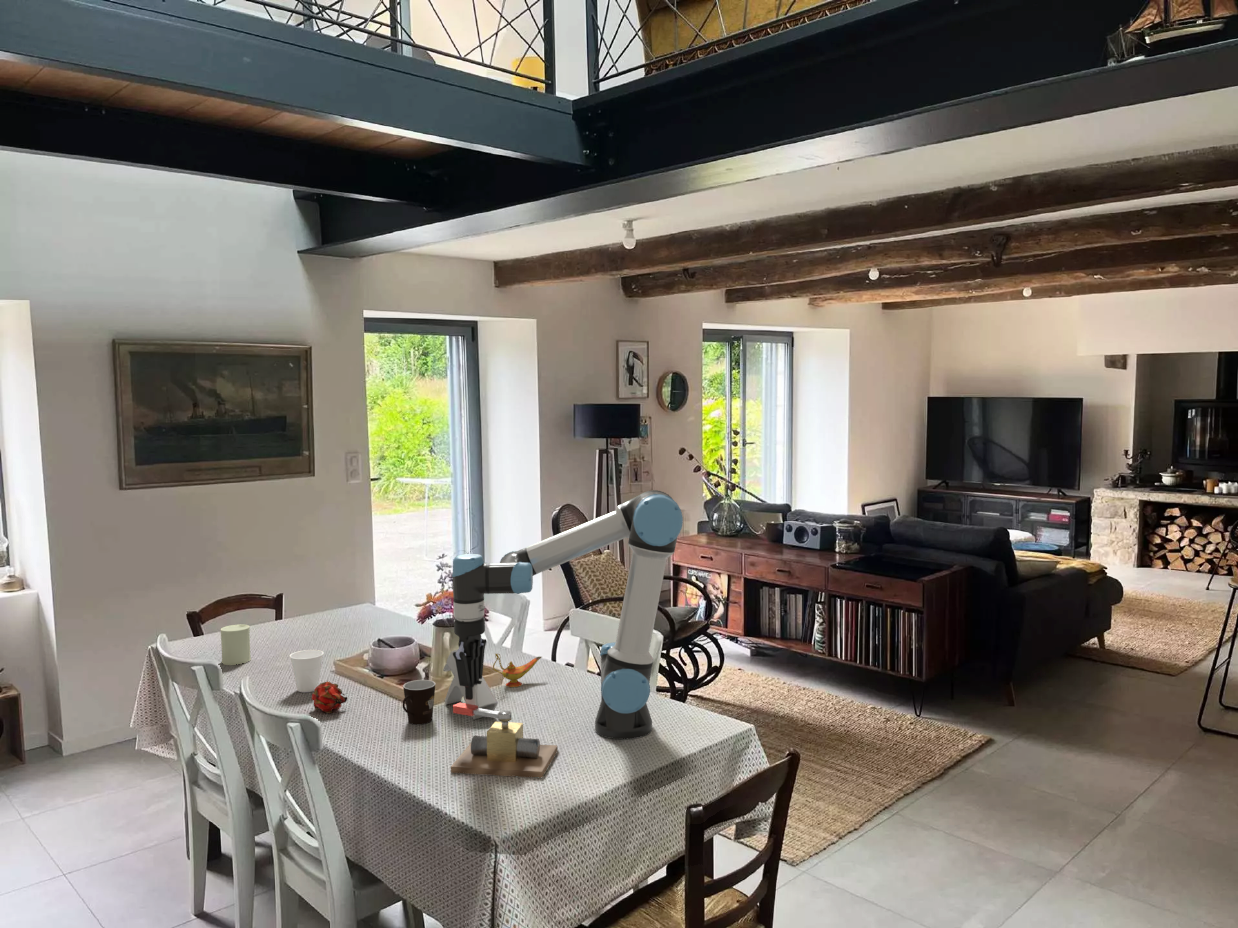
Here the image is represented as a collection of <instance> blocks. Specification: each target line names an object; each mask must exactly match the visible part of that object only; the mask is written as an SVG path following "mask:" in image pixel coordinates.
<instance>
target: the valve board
mask: <svg viewBox="0 0 1238 928" xmlns="http://www.w3.org/2000/svg"><path fill="white" fill-rule="evenodd" d="M557 753H558V745H556V744H540V751H539V756H538V758H524V757H519V758H518V760H517V761H516V762H502V761H487V755H472V754H471V742H470V743H469V744H468V745H467V747H466V748H465V749H463V752H462V753H461V754H460V755H459V756H458V758H456V760H455V761H453V763H452V765H451V766H450V773H451V774H462V775H463V774H465V775H480V776H481V775H483V776H499V777H500V776H502V777H515V776H518V777H517V778H533V777H539V778H538V779H542V778H543V777H544V775H545V774H546V773H547V770H548V769H549V767H550V765H551V764H552V762H553V760H554V758H555V757H556V755H557ZM554 756H555V757H554ZM550 763H551V764H550ZM547 768H548V769H547ZM541 777H542V778H541Z"/></svg>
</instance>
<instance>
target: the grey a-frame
mask: <svg viewBox="0 0 1238 928" xmlns="http://www.w3.org/2000/svg"><path fill="white" fill-rule="evenodd" d="M454 651H458V649H455V650H451V651H450V653H449V655H448V656H447V658H446V663H445V665H444V666H443V670H442V671H443V672H451V673H452V675H453V678H452V680H451V682H450V685H449V687H448V689H447V690H448V691H447V694H446V696H445V700H444V704H445V705H449V704H454V703H459V702H461V701H462V699H464V701H465V702H464V703H466V700H465V686H460V684H459V678H458V672H457V667H456V661H455V658H454V656H453V652H454ZM479 681H482V682H481V684H477V689H478V708H481V709H487V710H493V711H496V710H495V709H497V708H496V707H497V705H498V703H499V702H498V699H497V698H496V696H495V695H494V693H493V692H492V690H491V688H490V687H489V685H488V682H487V681H486V679H485V678H484V676H483V675H482V679H479ZM471 717H472V720H477V719H481V718H484V717H486V716H481V715H473V716H471Z"/></svg>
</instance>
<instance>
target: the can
mask: <svg viewBox="0 0 1238 928" xmlns="http://www.w3.org/2000/svg"><path fill="white" fill-rule="evenodd" d="M250 628H251V626H250V625H248V624H241V623H239V624H230V625H226V626H223V627H221V628H220V643H221V645H220V646H221V664H222V663H223V664H222V665H224V666H239V665H238V664H240V665H243V664H242V663H244V664H247V663H249V662H251V661H252V657H251V639H250V638H251V637H250V636H251V635H250V630H251V629H250ZM250 660H251V661H250ZM248 661H249V662H248ZM246 662H247V663H246ZM236 664H237V665H236Z"/></svg>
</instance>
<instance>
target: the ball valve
mask: <svg viewBox="0 0 1238 928" xmlns="http://www.w3.org/2000/svg"><path fill="white" fill-rule="evenodd" d="M470 743H471V754H472V755H487V761H502V762H516V761H517V760H518V758H519V757H524V758H538V756H539V751H540V745H541V742H540V739H539V738H524V722H510V721H507V722H501V721H494V722H493V723H492V725H491V726H490V727H489V729H488V730H487V731H486V736H484V735H473V736H472V738H471V741H470Z"/></svg>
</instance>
